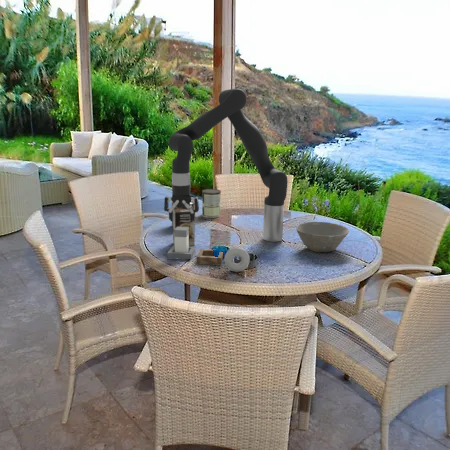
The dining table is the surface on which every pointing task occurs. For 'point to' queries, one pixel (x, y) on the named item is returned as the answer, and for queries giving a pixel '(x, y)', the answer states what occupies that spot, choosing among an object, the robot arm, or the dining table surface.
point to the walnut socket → (209, 257)
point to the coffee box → (184, 223)
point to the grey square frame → (181, 255)
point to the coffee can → (211, 203)
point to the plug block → (182, 239)
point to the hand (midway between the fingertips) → (181, 221)
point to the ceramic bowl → (321, 235)
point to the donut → (241, 265)
